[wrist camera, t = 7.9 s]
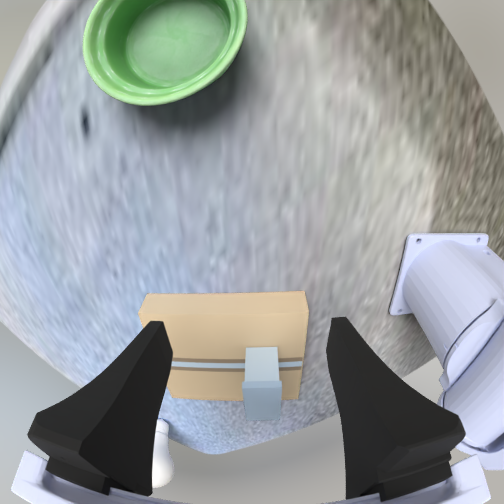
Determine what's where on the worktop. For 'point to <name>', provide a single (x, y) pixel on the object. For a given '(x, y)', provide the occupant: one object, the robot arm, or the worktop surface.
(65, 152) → the worktop surface
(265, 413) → the tab
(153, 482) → the lightbulb
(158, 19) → the ramekin
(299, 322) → the carton
